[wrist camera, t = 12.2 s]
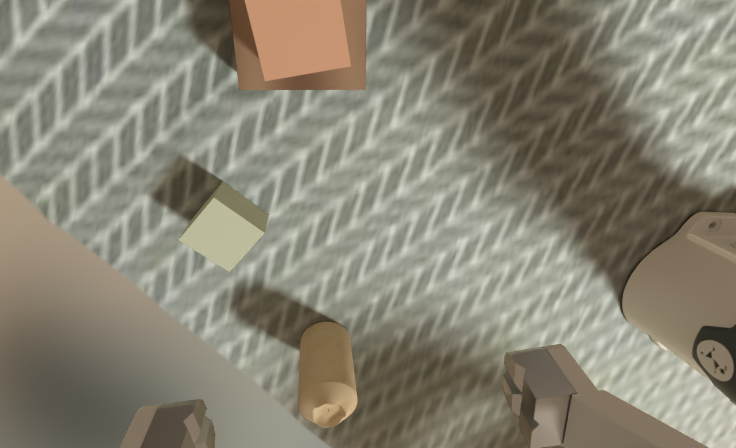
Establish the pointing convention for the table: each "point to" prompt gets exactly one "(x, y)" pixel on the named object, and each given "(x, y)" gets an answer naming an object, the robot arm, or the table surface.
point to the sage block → (225, 227)
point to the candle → (326, 375)
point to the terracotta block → (298, 36)
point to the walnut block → (324, 80)
